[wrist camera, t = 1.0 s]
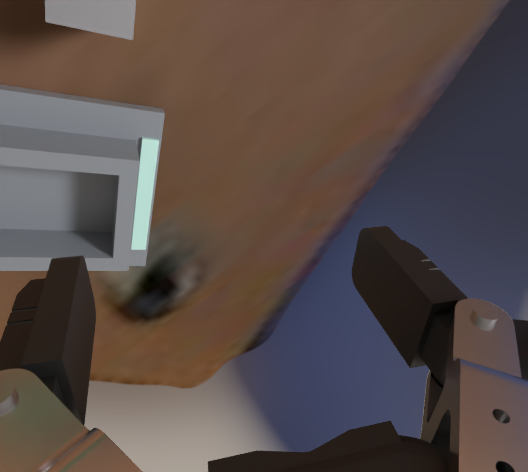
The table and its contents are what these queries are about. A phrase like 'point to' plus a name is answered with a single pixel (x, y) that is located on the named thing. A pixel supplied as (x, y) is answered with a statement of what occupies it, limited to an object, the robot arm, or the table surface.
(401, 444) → the robot arm
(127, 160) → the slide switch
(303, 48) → the table surface
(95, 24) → the block
